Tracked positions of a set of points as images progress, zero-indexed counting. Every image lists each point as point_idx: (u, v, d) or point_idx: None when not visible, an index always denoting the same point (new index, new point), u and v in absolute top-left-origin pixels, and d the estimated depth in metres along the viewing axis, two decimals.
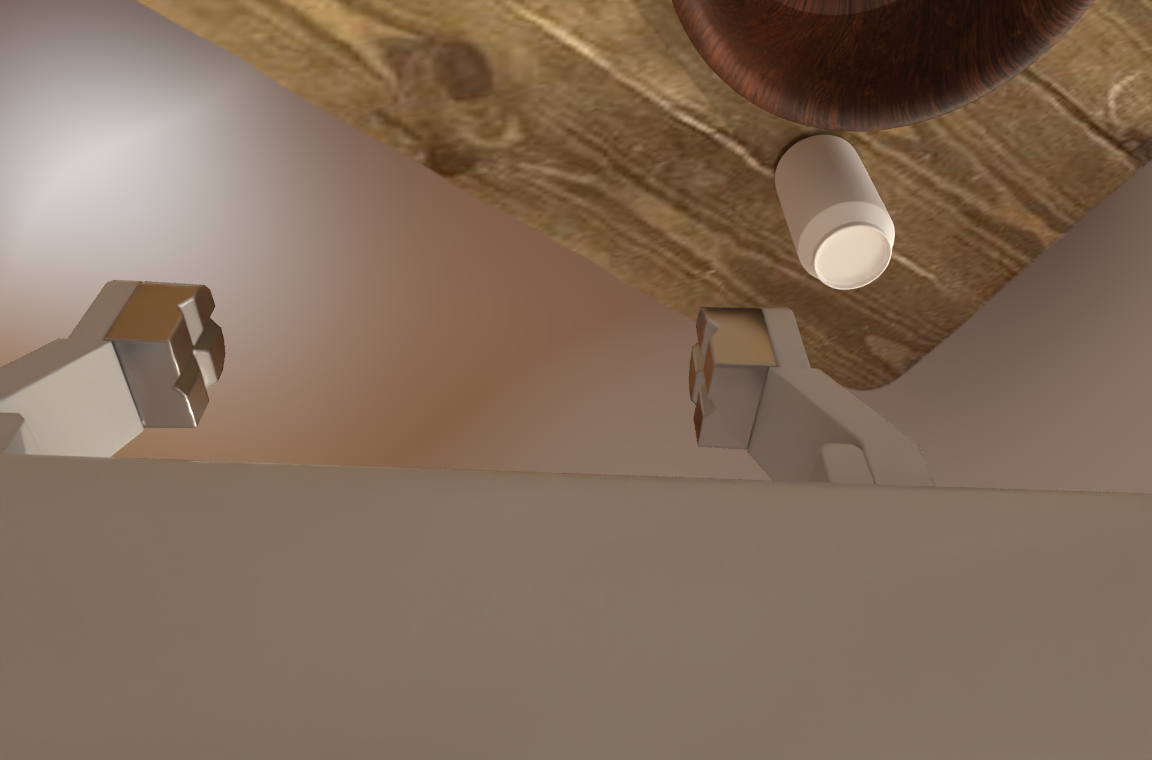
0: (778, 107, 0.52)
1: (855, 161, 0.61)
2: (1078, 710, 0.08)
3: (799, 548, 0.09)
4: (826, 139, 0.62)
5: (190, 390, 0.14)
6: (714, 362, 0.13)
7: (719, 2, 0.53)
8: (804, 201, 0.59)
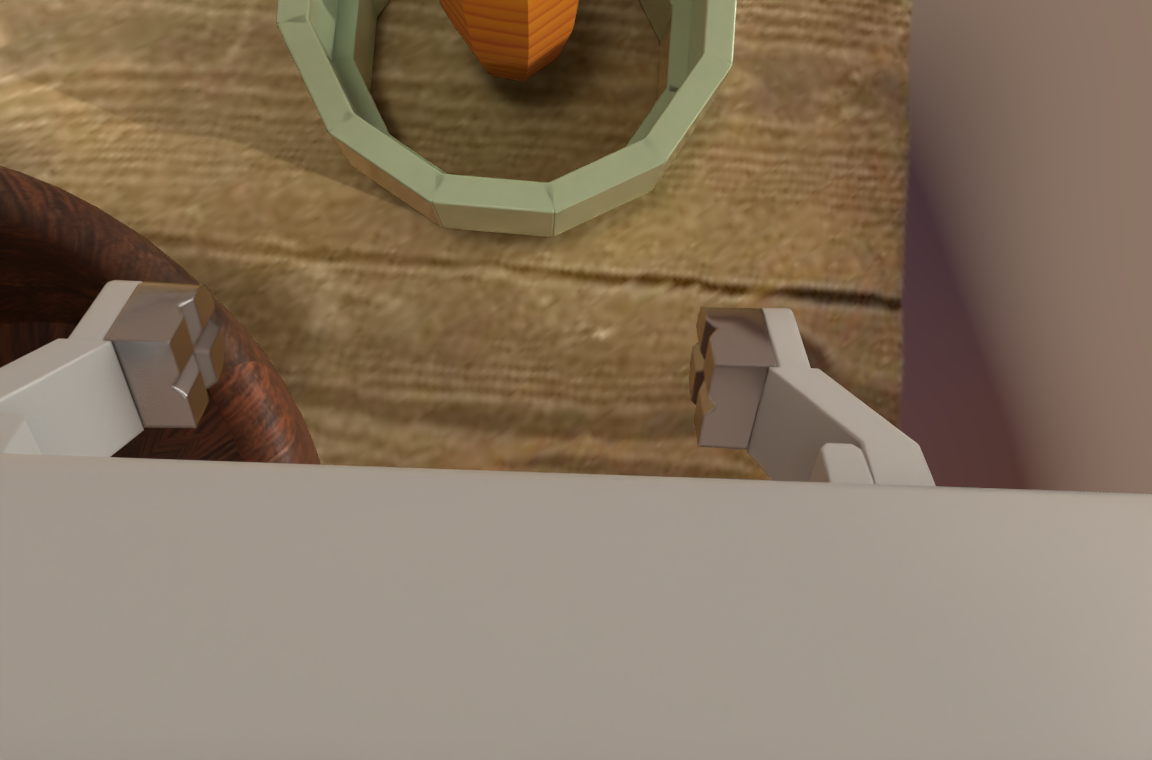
0: None
1: None
2: (1078, 711, 0.08)
3: (799, 548, 0.09)
4: None
5: (190, 390, 0.14)
6: (714, 362, 0.13)
7: None
8: None
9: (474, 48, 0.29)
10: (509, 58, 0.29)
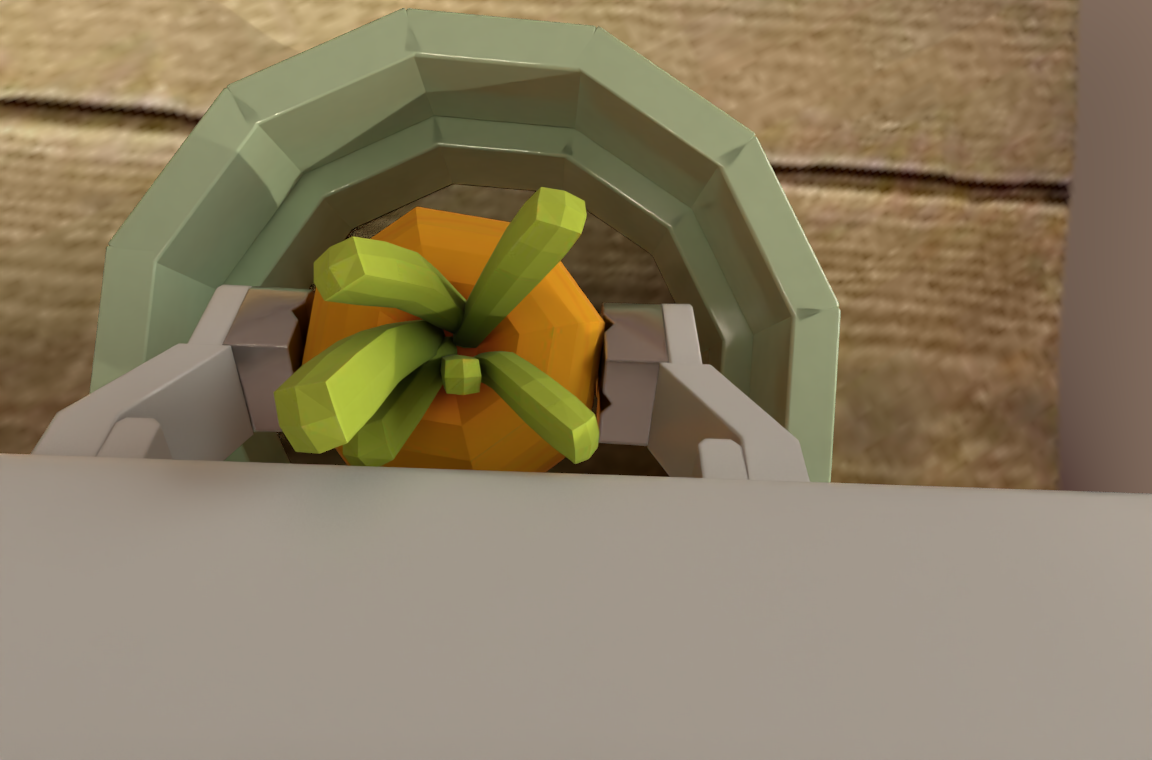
0: None
1: None
2: (1077, 710, 0.08)
3: (799, 548, 0.09)
4: None
5: None
6: (605, 358, 0.13)
7: None
8: None
9: None
10: None
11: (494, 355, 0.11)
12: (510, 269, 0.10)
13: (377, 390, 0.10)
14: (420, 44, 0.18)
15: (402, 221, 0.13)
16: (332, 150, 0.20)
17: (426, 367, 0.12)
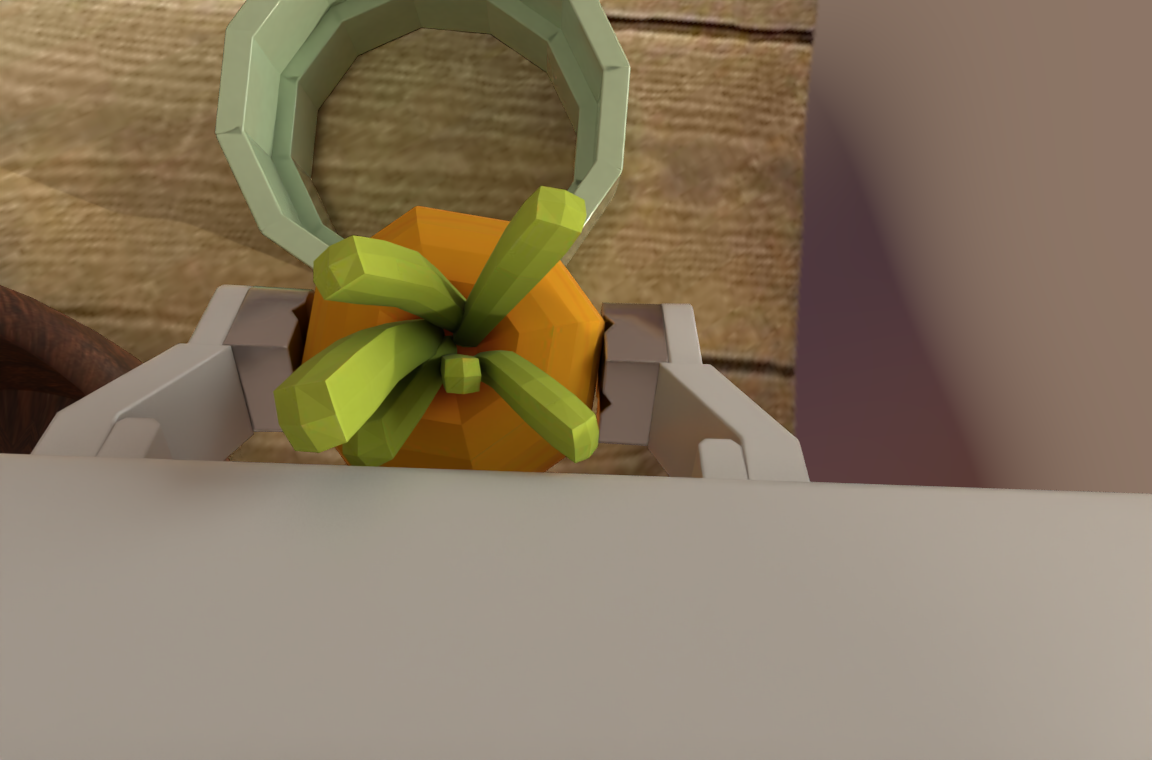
0: None
1: None
2: (1077, 710, 0.08)
3: (799, 548, 0.09)
4: None
5: None
6: (606, 358, 0.13)
7: None
8: None
9: None
10: None
11: (495, 353, 0.11)
12: (510, 268, 0.10)
13: (377, 389, 0.10)
14: None
15: (402, 221, 0.13)
16: None
17: (426, 366, 0.12)
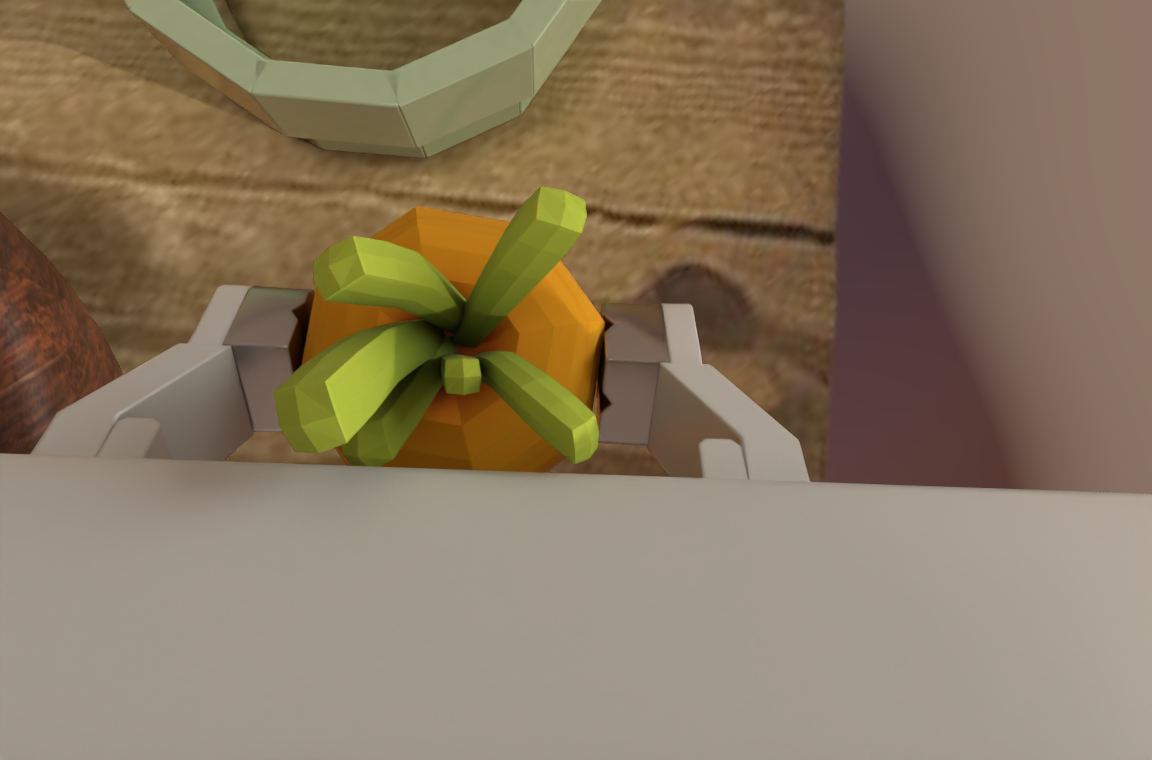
0: None
1: None
2: (1077, 710, 0.08)
3: (799, 548, 0.09)
4: None
5: None
6: (605, 358, 0.13)
7: None
8: None
9: None
10: None
11: (495, 354, 0.11)
12: (510, 269, 0.10)
13: (377, 390, 0.10)
14: None
15: (401, 221, 0.13)
16: None
17: (426, 367, 0.12)
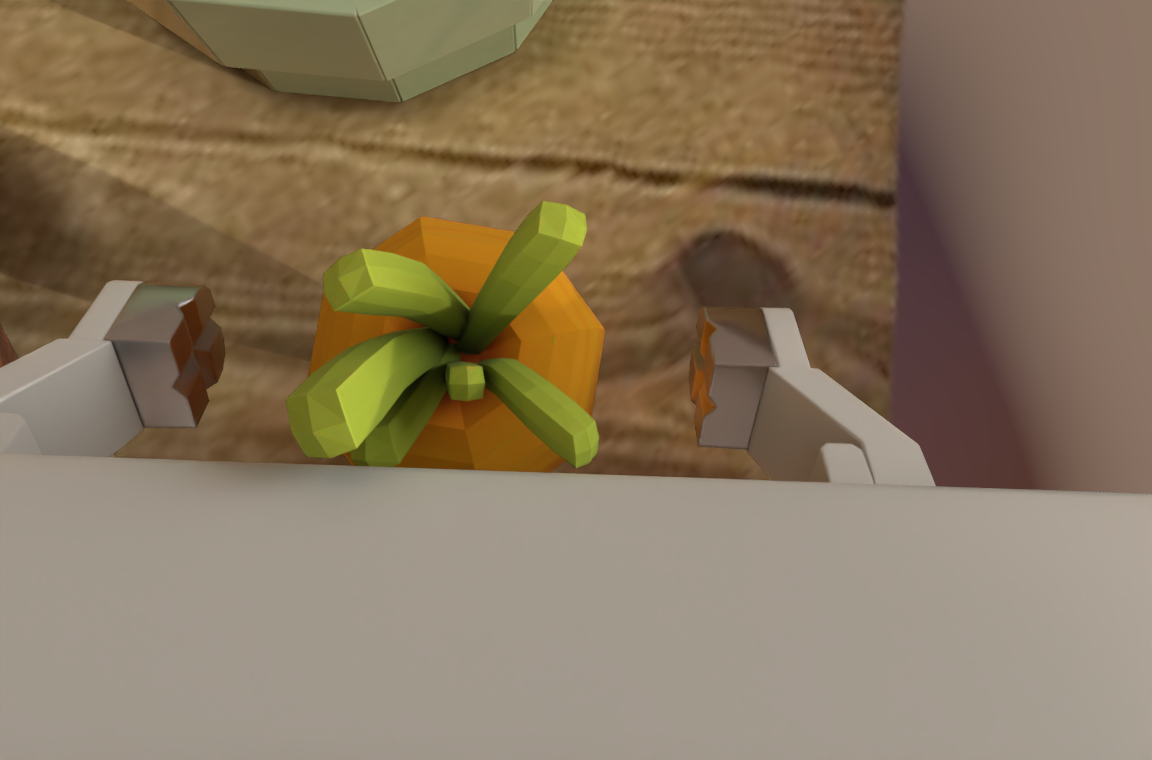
0: None
1: None
2: (1078, 711, 0.08)
3: (799, 548, 0.09)
4: None
5: (190, 390, 0.14)
6: (714, 362, 0.13)
7: None
8: None
9: None
10: None
11: (497, 361, 0.12)
12: (513, 280, 0.11)
13: (385, 397, 0.10)
14: None
15: (406, 231, 0.14)
16: None
17: (431, 373, 0.12)
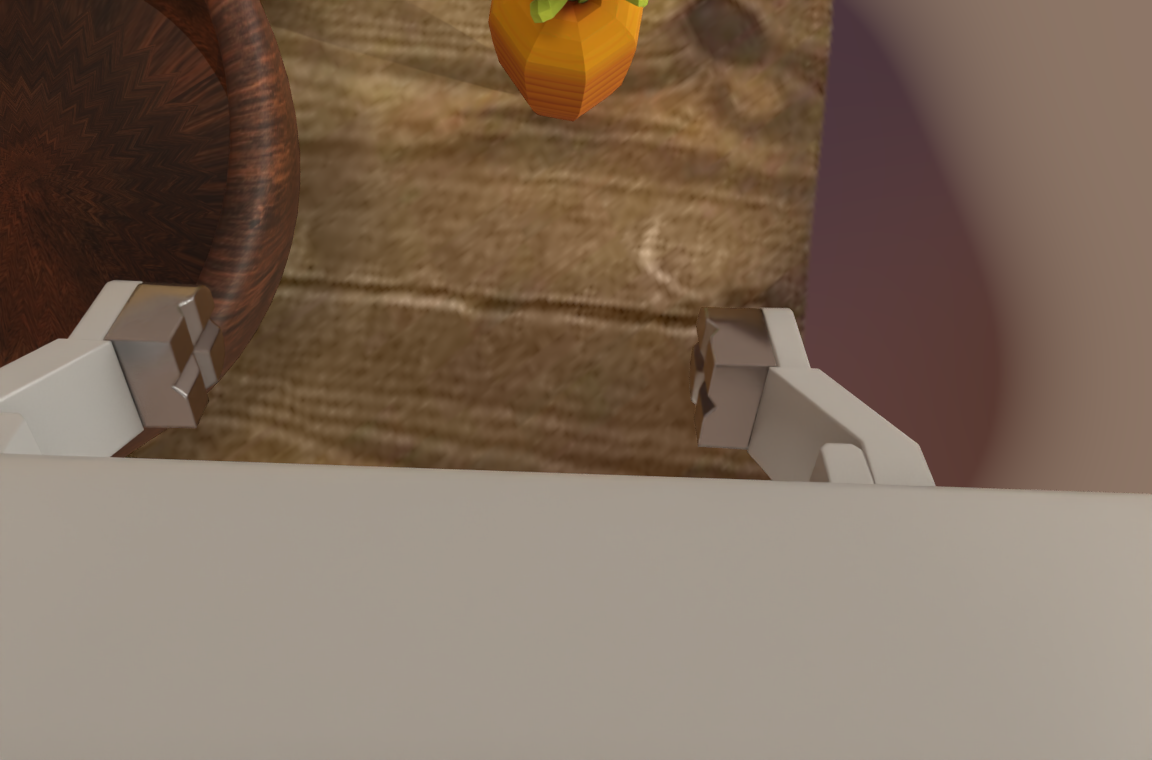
0: None
1: None
2: (1077, 710, 0.08)
3: (799, 548, 0.09)
4: None
5: (190, 390, 0.14)
6: (714, 362, 0.13)
7: None
8: None
9: (529, 103, 0.31)
10: (561, 111, 0.31)
11: None
12: None
13: None
14: None
15: None
16: None
17: None
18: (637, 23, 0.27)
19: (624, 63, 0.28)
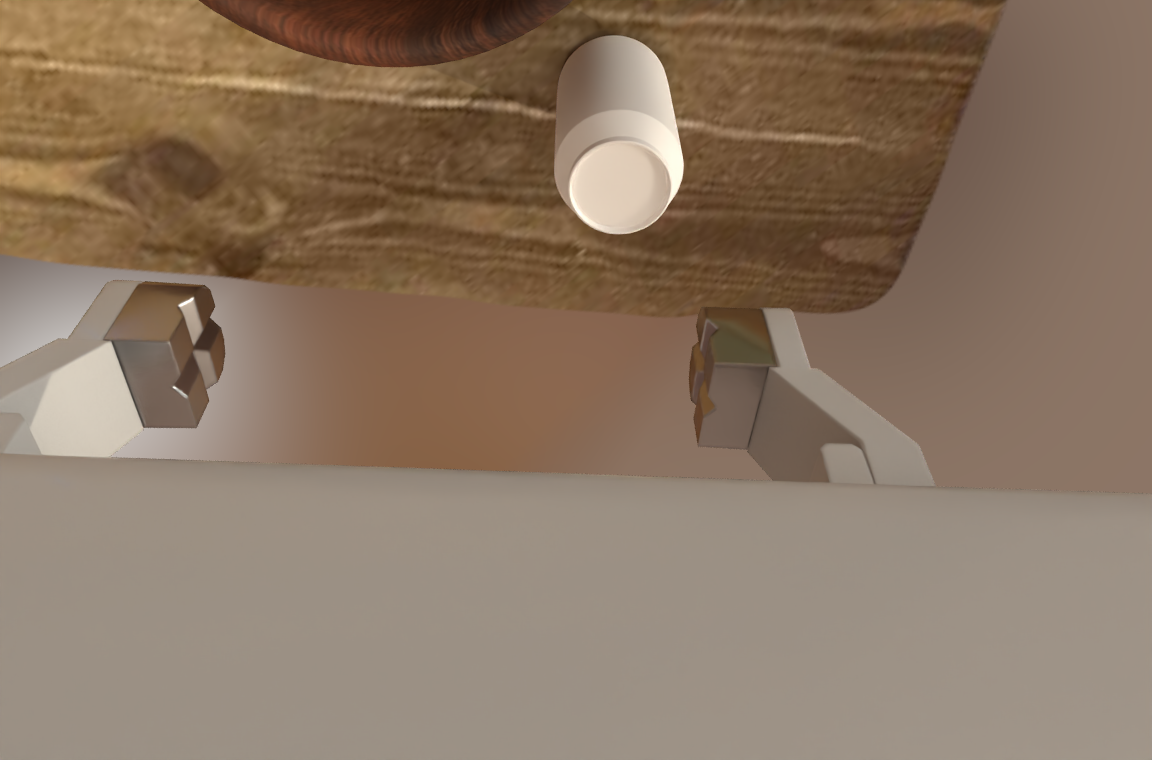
0: (407, 56, 0.39)
1: (617, 58, 0.45)
2: (1078, 711, 0.08)
3: (799, 548, 0.09)
4: (586, 47, 0.47)
5: (190, 390, 0.14)
6: (714, 362, 0.13)
7: None
8: (555, 141, 0.44)
9: None
10: None
11: None
12: None
13: None
14: None
15: None
16: None
17: None
18: None
19: None
